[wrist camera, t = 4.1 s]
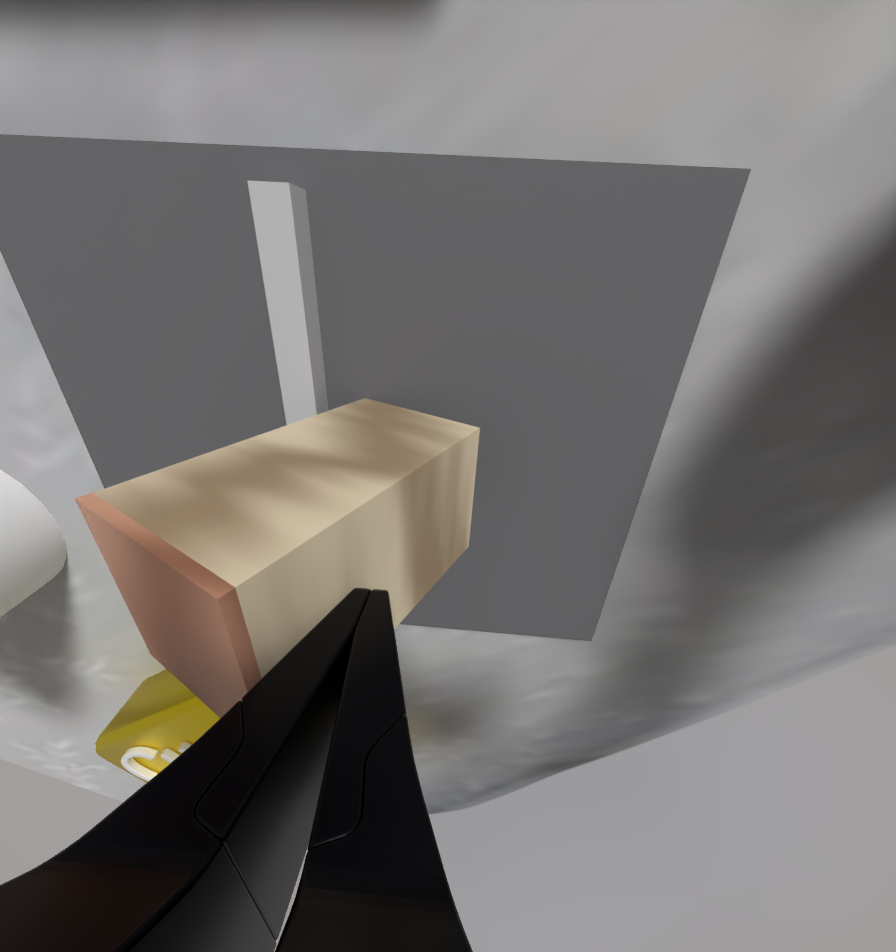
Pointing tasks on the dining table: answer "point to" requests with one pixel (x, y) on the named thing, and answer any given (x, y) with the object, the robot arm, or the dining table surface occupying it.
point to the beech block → (284, 536)
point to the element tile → (154, 726)
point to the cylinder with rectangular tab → (26, 544)
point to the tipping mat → (381, 324)
